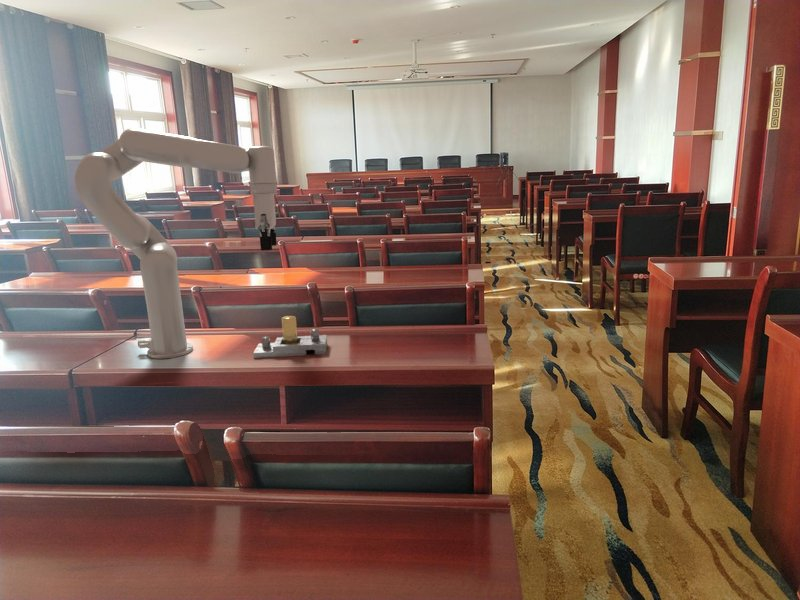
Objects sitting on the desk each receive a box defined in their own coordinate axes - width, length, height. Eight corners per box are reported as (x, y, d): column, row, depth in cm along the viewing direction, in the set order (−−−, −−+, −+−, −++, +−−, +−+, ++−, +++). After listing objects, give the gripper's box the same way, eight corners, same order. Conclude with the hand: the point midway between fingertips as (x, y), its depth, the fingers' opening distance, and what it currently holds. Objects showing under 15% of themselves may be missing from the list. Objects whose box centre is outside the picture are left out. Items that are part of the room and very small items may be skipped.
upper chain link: (273, 357, 169) (271, 336, 167) (277, 347, 177) (276, 327, 176) (325, 354, 169) (324, 333, 168) (327, 344, 178) (325, 325, 177)
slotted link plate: (253, 358, 168) (252, 342, 167) (259, 348, 177) (257, 333, 176) (306, 355, 169) (304, 339, 168) (308, 345, 178) (307, 330, 177)
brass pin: (283, 353, 171) (280, 319, 169) (285, 349, 175) (282, 316, 173) (297, 353, 171) (295, 319, 169) (299, 348, 175) (296, 315, 173)
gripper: (256, 188, 184) (261, 244, 188) (245, 191, 167) (251, 252, 171) (280, 187, 185) (285, 243, 189) (272, 190, 168) (277, 251, 172)
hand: (269, 247), depth 180 cm, fingers open, 9 cm apart
